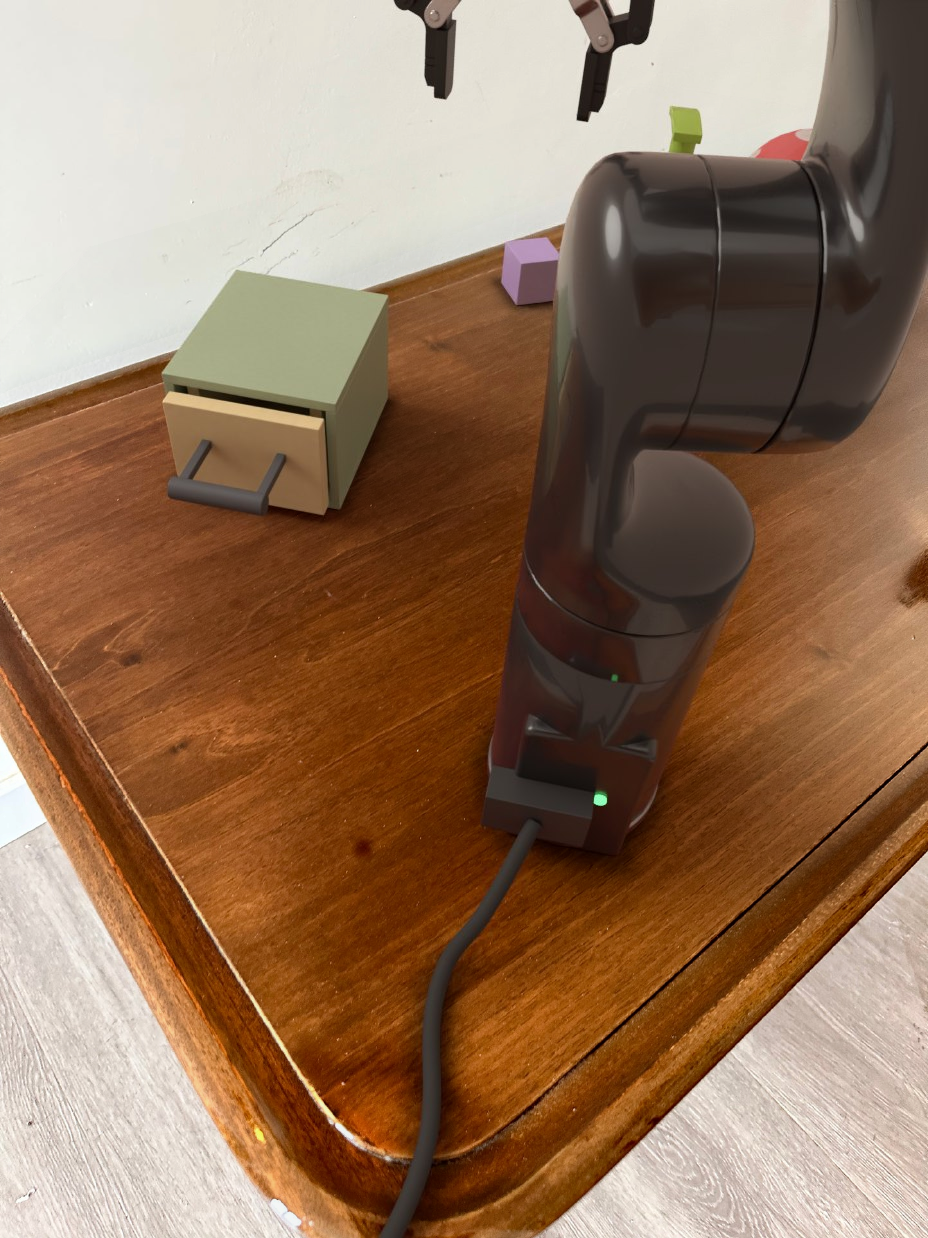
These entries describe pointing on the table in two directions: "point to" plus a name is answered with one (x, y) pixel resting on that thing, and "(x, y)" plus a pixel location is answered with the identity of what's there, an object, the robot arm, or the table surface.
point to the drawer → (246, 452)
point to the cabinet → (295, 357)
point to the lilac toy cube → (530, 270)
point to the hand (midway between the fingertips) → (513, 105)
